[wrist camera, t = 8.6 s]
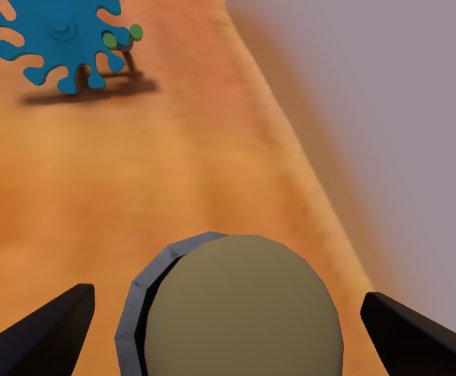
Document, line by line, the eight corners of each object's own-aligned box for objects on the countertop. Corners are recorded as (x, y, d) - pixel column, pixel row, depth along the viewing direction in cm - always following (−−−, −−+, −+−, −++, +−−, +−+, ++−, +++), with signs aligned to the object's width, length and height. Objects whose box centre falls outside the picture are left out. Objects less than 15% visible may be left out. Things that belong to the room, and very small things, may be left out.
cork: (274, 302, 16) (405, 270, 7) (234, 414, 14) (364, 634, 4) (190, 256, 17) (204, 167, 7) (134, 356, 14) (34, 424, 4)
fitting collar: (282, 439, 14) (312, 473, 11) (100, 414, 13) (76, 442, 10) (287, 260, 19) (310, 247, 15) (154, 234, 18) (148, 215, 15)
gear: (-13, 86, 19) (-42, -82, 16) (18, 90, 24) (0, -37, 22) (144, 100, 23) (142, -35, 20) (141, 101, 28) (139, -6, 25)
